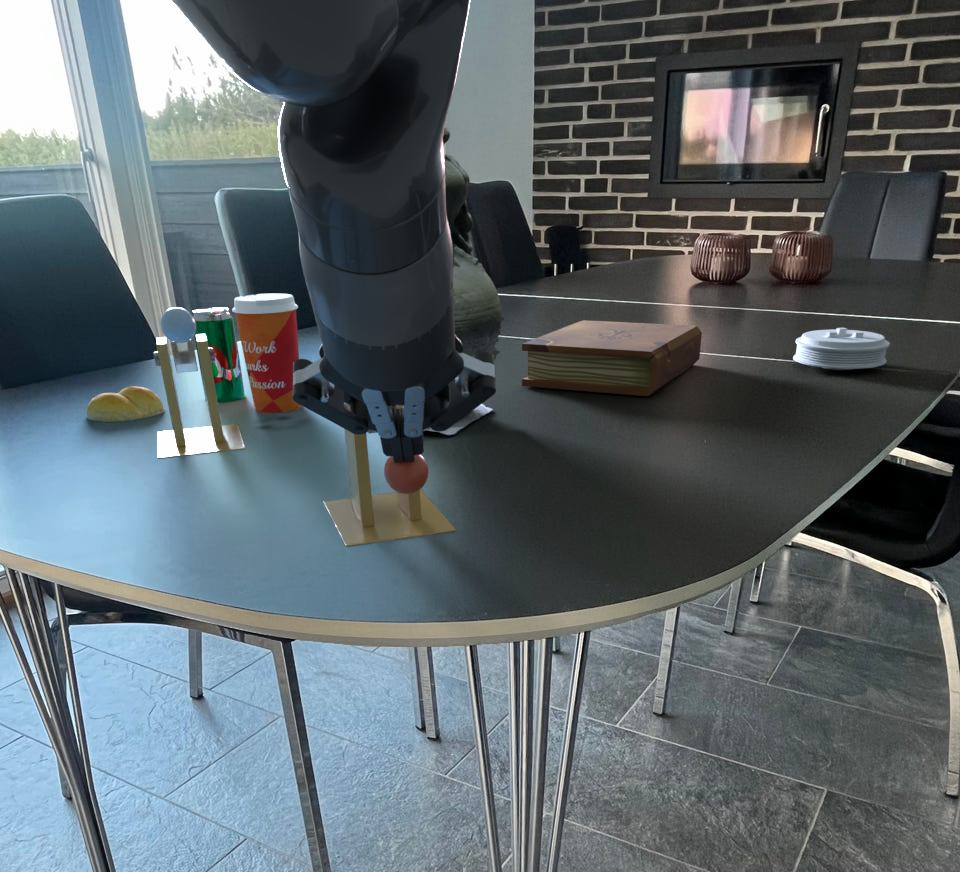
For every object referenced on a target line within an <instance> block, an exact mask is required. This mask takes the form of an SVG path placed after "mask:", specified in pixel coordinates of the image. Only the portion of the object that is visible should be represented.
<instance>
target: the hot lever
mask: <svg viewBox="0 0 960 872" xmlns="http://www.w3.org/2000/svg"><path fill="white" fill-rule="evenodd" d="M367 433H368V434H376V433H377V434H378V432H376V431H374V430H370V429H368V432H367ZM383 473H384V474H383V475H384V479H385V481H386V484H387V485H388V486H389V487H390V488H391V489H392V490H393V491H394V492H399V493H402V494H411V493H414V492H417V491H418V490H420V489H422V488H424V486H425V485H426V483H427V482H428V478H429V465H428V462H427V460H426V459H425V458H424V456H423V454H422V455H415V462H405V460H404V462H400V463H394V459H393V456H388V457H387V459H386V461H385V463H384V467H383Z"/></svg>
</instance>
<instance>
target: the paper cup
mask: <svg viewBox="0 0 960 872" xmlns="http://www.w3.org/2000/svg"><path fill="white" fill-rule="evenodd" d="M233 300H234V301H233V308H232V310H231V312H232V313H234V314H235V319H236V324H237V329H238V333H239V339H240V343H241V347H242V353H243V357H244V363H245V367H246V373H247V378H248V381H249V387H250V391H251V397H252V401H253V405H254V410H255V411H257V412H258V413H259V412H260V413H265V414H266V413H267V414H277V413H279V414H280V413H286V412H287V413H289V412H292V411H296V410H298V409H300V408H302V407H303V406H302V405H300V404H298V403H296V402H295V401H294V400H293V363H294V361H296V360H298V359H300V352H299V337H298V320H297V310H298V308H299V305H298V304H297V303H296V301H295V297H294V295H293V294H291V293H290V294H289V293H280V292H279V293H278V292H277V293H276V292H275V293H256V294H248V295H247V294H246V295H244V296H236V297H235V298H234V299H233Z"/></svg>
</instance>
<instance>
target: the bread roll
mask: <svg viewBox="0 0 960 872" xmlns="http://www.w3.org/2000/svg"><path fill="white" fill-rule="evenodd" d="M165 412H166V409H165V408H164V404H163V401H162V400H161V398H160V397H159V395H157V394H156V393H155V392H154V391H153V390H151V389H149V388H146V387H143V386H127V387H125V388H123V389H121V390H120V391H119V392H117V393H116V392H104V393H100V394H97V395H96V396H94V397H93V398H92V399H90V401H89V403H88V405H87V408H86V419H88V420H90V421H94V422H102V423H107V422H108V423H113V422H115V423H116V422H128V421H136V420H141V419H145V418H151V417H154V416H158V415H162V414H163V413H165Z"/></svg>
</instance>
